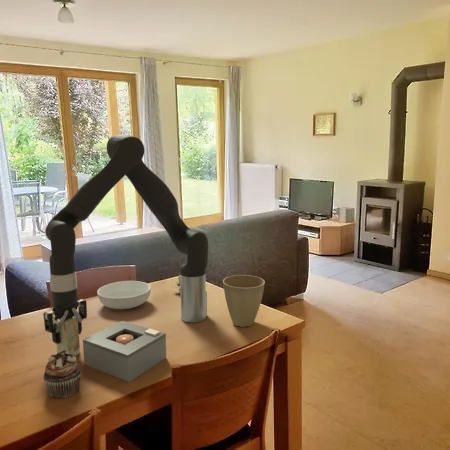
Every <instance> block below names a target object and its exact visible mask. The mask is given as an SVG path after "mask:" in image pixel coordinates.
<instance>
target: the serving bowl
mask: <svg viewBox="0 0 450 450" xmlns="http://www.w3.org/2000/svg"><path fill="white" fill-rule="evenodd" d="M151 291H152V286H151V285H150V284H149V283H147V282H143V281H138V280H121V281H115V282H111V283H107V284H106V285H103V286H101V287H99V288H98V289H97V291H96V293H97V298H98V300H99V302H100V303H101V304H102V305H103V306H104V307H107V308H110V309H112V310H113V309H115V310H127V309H133V308H137V307H138V306H141V305H143V304H144V303H145V302H146V301H147V300H148V299H149V297H150V296H151Z"/></svg>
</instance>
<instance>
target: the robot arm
mask: <svg viewBox="0 0 450 450" xmlns="http://www.w3.org/2000/svg"><path fill="white" fill-rule="evenodd" d="M106 152H107V153H106V154H107V155H108V158H109V161H108V162H107V164H106V165H104V167H103V168H102V169H101V170H100V171H99V172H97V174H95V175H94V176H92V177H91V178H90V179H89V180H87V181H86V182H85V183H84V184H83V185H82V186H81V187H80V188H78V190H77V191H76V193H75V194H74V195H73V196H72V197H71V199H70V200H69V201H68V203H67V204H66V205H65V206H64V207H63V208H62V209H60V211H58V212H57V213H56V214H55V215H54V216H53V217H52V218H51V219H50V220H49V222H48V223H47V225H46V227H45V231H44V232H45V233H44V234H45V237H46V238H47V239H48V240H49V241H50V249H51V250H50V251H51V255H50V256H49V271H50V272H49V273H50V275H49V277H50V279H49V285H50V297H51V304H52V310H50V311H44V312H43V313H42V314H43V326H44V331H45V332H48V333H50V334H51V337H52V343H55V345H56V344H59V343H60V332H59V330H60V327H61V326H62V325H63V323H64V321H66V320H67V319H69V318H73V317H76V318H77V320H78V328H79V335H81V334H82V332H83V327H82V324H83V320H85V319H87V317H88V309H87V308H88V305H87V300H85V299H82V298H79V291H78V277H77V273H76V260H75V253H76V242H77V241H76V239H77V238H76V231H75V228H76V227H77V226H78V225H79V223H80V222H84V221H86V220H87V219H88V218H89V217H90V215H91V214H92V213H93V212H94V210H96V208H97V206H98V205H99V204H100V203H101V202H102V201H103V199H104V198H105V197H106V195H107V194H108V193H109V192H111V190H112V189H113V188H114V187H116V185H117V184H118V183H119V182H120V181H121V180H122V179H123V178H124V177H125V176H126V178H127V179H128V180H129V181H130V183H131V184H132V186H133V188H134V189H135V190H136V192H137V193H138V195H139V197H141V199H142V201H143V202H144V204H145V205H146V206H147V207H148V209H149V210H150V211H151V213H152V214H153V215H154V217H155V218H156V219H157V221H158V222H159V223H160V225H161V226H162V227H163V229H164V230H165V231H166V232H167V234H168V236H169V237H170V239H171V241H172V243H173V245H174V246H175V247H174V248H176V249H177V251H178V252H180V253H181V254H184V255H187V261H186V263H183V264H182V265H180V268H179V276H180V289H181V292H180V320H182V322H186V323H200V322H203V321H205V319H206V318H207V316H208V292H207V290H206V289H207V288H206V284H207V283H206V282H207V281H206V270H207V267H208V261H209V241H208V236H207V235H206V234H205V233H204V232H202V231H199V230H195V229H191V228H190V227H189V226H188V225H187V224H186V223H185V222H184V221H183V219H182V218H181V215H180V212H179V204H178V201H177V198H176V197H175V195H174V194H173V192H172V191H171V189H170V187H168V186H167V184H166V183H165V181H163V180H162V179H161V178H160V177H159V176H158V175H157V174H155V173H154V171H152V170H151V169H150V168H149V167H148V166H147V164H145V162H144V161H143V158H144V157H145V156H144V155H145V144H144V143H143V141H142V140H141V139H140V138H138V137H136V136H134V135H131V134H124V133H118V134H114V135H112V136H111V137H109V138H108V140H107V143H106ZM58 320H60V321H59V322H58ZM56 324H57V326H56Z"/></svg>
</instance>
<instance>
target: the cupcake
mask: <svg viewBox="0 0 450 450" xmlns="http://www.w3.org/2000/svg"><path fill="white" fill-rule="evenodd" d="M47 361H48V362H47V363H46V365H45V367H44V374H43V377H42V379H43V381H44V384H45V388H46V390H47V394H48V396H49V397H51V398H52V399H53V398H54V399H64V398H68V397H71V396H73V395H75V394H76V393H78V391H79V390H80V385H81V377H82V373H83V371H82V367H81V365H80V364H79V362H78V361H77V356H75V357H74V356H73V355H72V354H69V353H68V352H66V350H65V351H62V352H59V353H58V354H57V353H56V354H51V355H50V356H48V357H47Z"/></svg>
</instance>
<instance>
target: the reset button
mask: <svg viewBox="0 0 450 450" xmlns="http://www.w3.org/2000/svg"><path fill="white" fill-rule="evenodd" d="M131 341H133V336H132V335H129V334H124V335H120V336H118V337H117V338H116V342H117V343H120V344H123V345H126V344H128V343H129V342H131Z"/></svg>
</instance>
